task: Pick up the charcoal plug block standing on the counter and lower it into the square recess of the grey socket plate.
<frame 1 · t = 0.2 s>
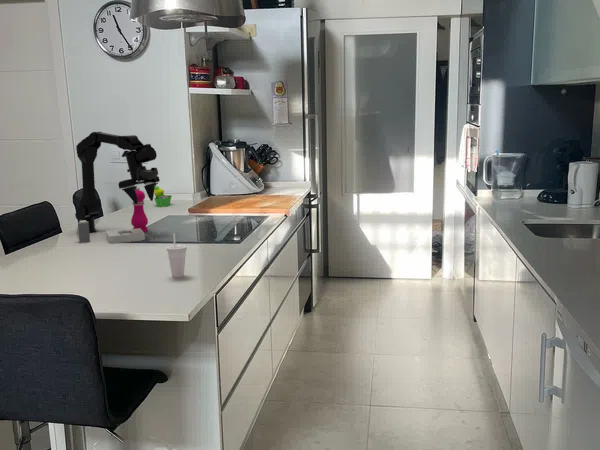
hand: (144, 202, 249), 15 cm above the worktop, tool pointing down, fingers open, 9 cm apart
socket plate: (125, 239, 250), on the worktop
fruit basket: (162, 206, 340), on the worktop
smoothie: (178, 276, 192), on the worktop
plug: (84, 241, 247), on the worktop
pepper mill: (140, 232, 266), on the worktop
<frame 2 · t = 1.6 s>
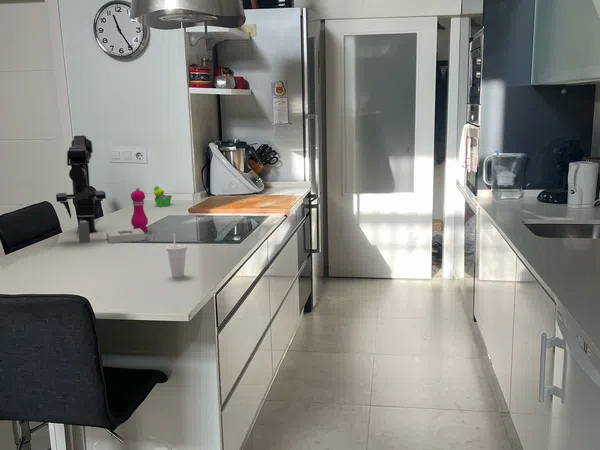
hand: (82, 216, 245), 10 cm above the worktop, tool pointing down, fingers open, 9 cm apart
nothing on the worktop moved.
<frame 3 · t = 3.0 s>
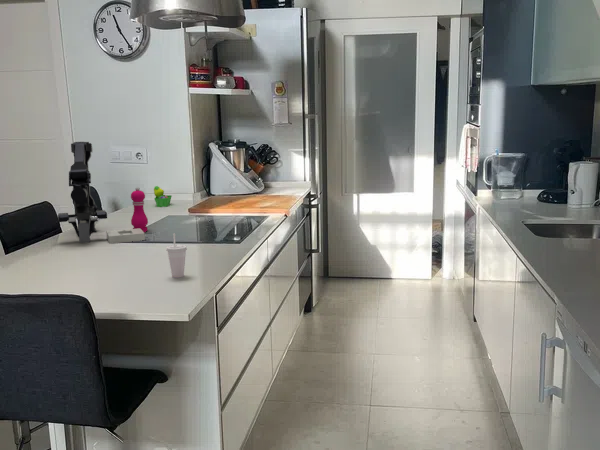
hand: (84, 236, 246), 2 cm above the worktop, tool pointing down, fingers closed on plug, 4 cm apart
plug: (84, 241, 246), on the worktop, touching gripper
everything else where it was.
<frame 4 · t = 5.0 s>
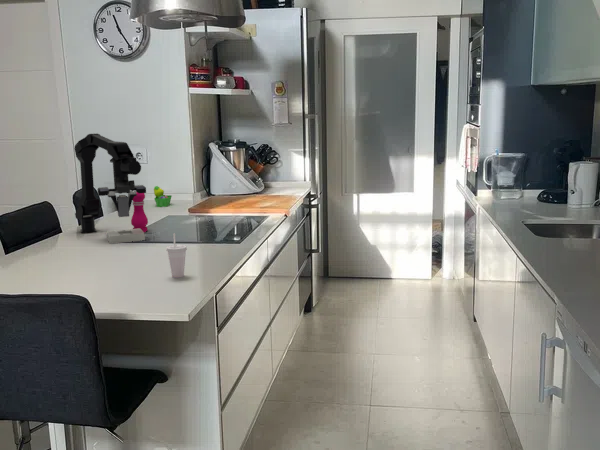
hand: (123, 211, 248), 12 cm above the worktop, tool pointing down, fingers closed on plug, 4 cm apart
plug: (123, 215, 248), point 10 cm above the worktop, touching gripper
everything else where it was.
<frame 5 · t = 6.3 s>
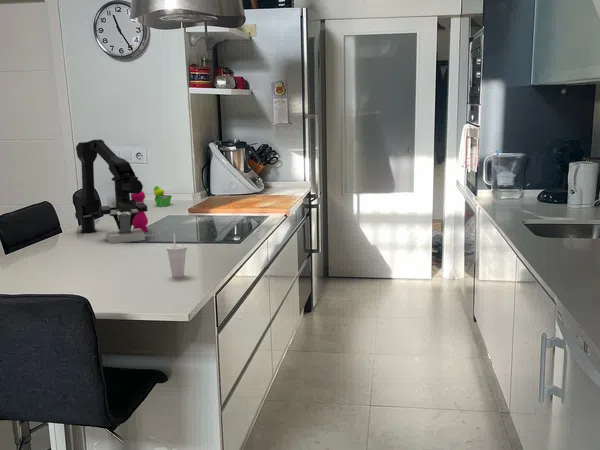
hand: (124, 229, 249), 4 cm above the worktop, tool pointing down, fingers closed on plug, 4 cm apart
plug: (125, 234, 249), point 2 cm above the worktop, touching gripper
everything else where it was.
when the fingers open (3 cm above the worktop, at t = 7.2 s): plug drops 1 cm, resting in socket plate.
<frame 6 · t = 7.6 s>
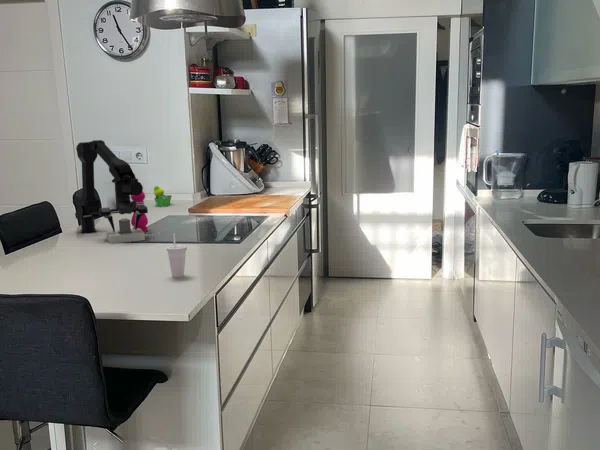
hand: (125, 231, 249), 3 cm above the worktop, tool pointing down, fingers open, 8 cm apart
plug: (125, 239, 250), resting in socket plate
everything else where it was.
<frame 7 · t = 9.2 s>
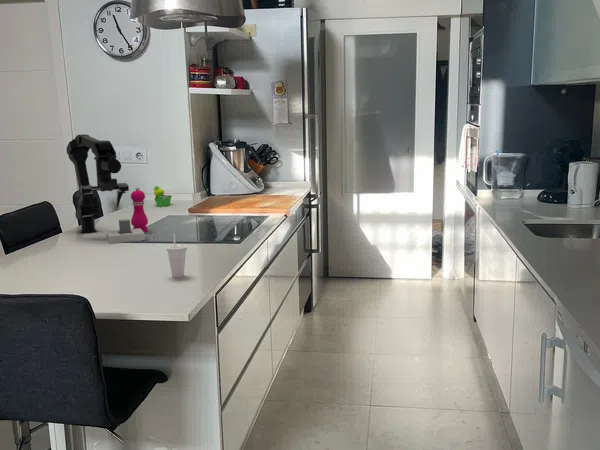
hand: (106, 208, 251), 13 cm above the worktop, tool pointing down, fingers open, 9 cm apart
nothing on the worktop moved.
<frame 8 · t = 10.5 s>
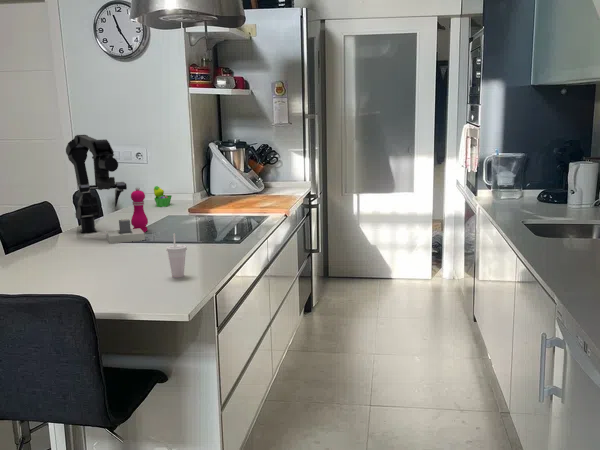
hand: (104, 207, 251), 13 cm above the worktop, tool pointing down, fingers open, 9 cm apart
nothing on the worktop moved.
at the end: plug 0.1 cm off-centre on the socket plate, point 0.0 cm above the socket plate's base; plug tilted 0°; the gripper is holding nothing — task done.
